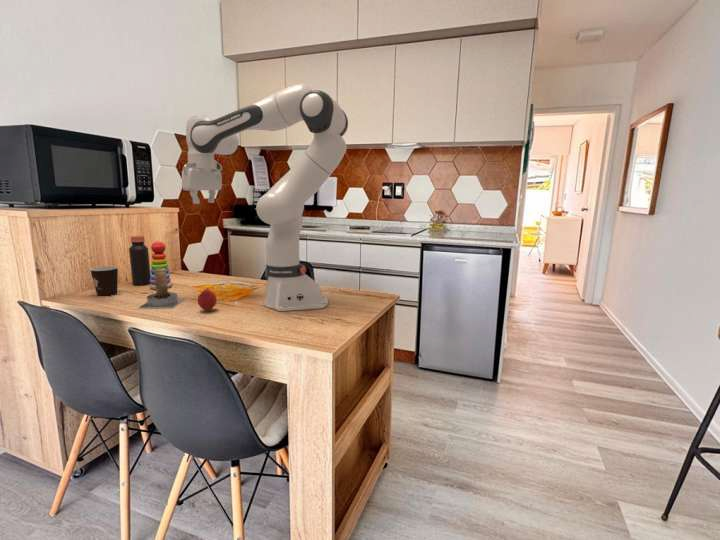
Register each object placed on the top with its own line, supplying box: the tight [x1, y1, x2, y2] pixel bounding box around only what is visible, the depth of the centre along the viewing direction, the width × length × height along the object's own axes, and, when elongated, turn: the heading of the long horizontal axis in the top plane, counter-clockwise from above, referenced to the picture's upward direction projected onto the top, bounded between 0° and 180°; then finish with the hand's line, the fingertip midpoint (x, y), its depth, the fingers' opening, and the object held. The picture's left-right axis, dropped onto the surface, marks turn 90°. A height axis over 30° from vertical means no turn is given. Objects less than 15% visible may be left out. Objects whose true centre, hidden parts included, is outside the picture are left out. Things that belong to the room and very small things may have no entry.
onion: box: [197, 286, 218, 312], centre depth 129 cm, size 6×6×8 cm
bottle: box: [128, 235, 151, 287], centre depth 162 cm, size 7×7×20 cm
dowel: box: [154, 268, 169, 298], centre depth 136 cm, size 4×4×12 cm
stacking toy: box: [149, 240, 172, 290], centre depth 157 cm, size 8×8×19 cm
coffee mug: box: [90, 265, 119, 297], centre depth 148 cm, size 12×9×10 cm
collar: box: [138, 291, 186, 309], centre depth 137 cm, size 11×11×3 cm
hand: (204, 203), depth 145 cm, fingers open, 8 cm apart
